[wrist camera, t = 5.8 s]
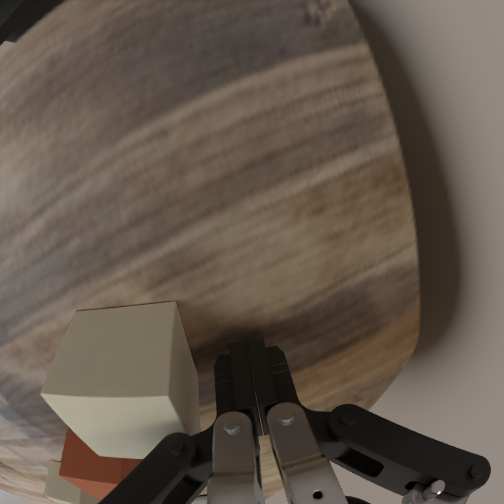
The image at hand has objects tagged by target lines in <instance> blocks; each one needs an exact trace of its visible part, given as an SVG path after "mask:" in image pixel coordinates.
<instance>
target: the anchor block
mask: <svg viewBox="0 0 504 504" xmlns="http://www.w3.org/2000/svg"><path fill="white" fill-rule="evenodd" d="M142 460H143V459H133V458H117V457H105V456H99V455H98V454H96V453H95V452H94V451H93V450H92V449H91V448H90V447H89V446H88V445H87V444H86V443H85V442H84V441H82V440H81V439H80V438H79V437H78V436H77V435H76V434H75V433H74V432H73V431H72V430H71V428H70V427H68V431H67V435H66V440H65V444H64V449H63V454H62V459H61V464H60V470H59V476H60V477H62V478H63V479H65V480H67V481H68V482H70V483H71V484H73V485H74V486H76V487H78V488H79V489H81V490H83V491H84V492H86V493H88V494H89V495H91V496H93V497H95V498H99V499H103V498H104V497H105V496H106V495H107V494H109V493H110V492H111V491H112V490H113V489H114V488H115V487H116V486H117V485H118V484H119V483H120V482H121V481H122V480H123V479H124V478H125V477H126V476H127V475H128V474H129V473H130V472H131V471H132V470H133V469H134V468H135V467H136V466H137V465H138V464H139V463H140V462H141V461H142Z"/></svg>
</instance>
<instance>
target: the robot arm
mask: <svg viewBox="0 0 504 504" xmlns="http://www.w3.org/2000/svg"><path fill="white" fill-rule="evenodd" d="M246 341H247V347H248V352H247V347H246V342H245V340H239V341H233V342H229V353H230V354H226V355H220V356H218V358H217V360H216V362H215V364H214V373H215V391H216V407H217V416H216V419H215V421H214V423H213V424H212V426H210V427H209V428H208V429H206V430H205V431H202V432H200V433H197V434H195V435H192V436H189V435H188V434H185V433H181V432H175V433H171V434H169V435H167V436H165V437H164V438H163V439H162V440H161V441H160V442H159V443H158V444H157V445H156V447H155V448H154V449H153V450H152V451H151V452H150V453H149V454H148V455H147V456H146V457H145V458H144V459H143V460H142V461H141V462H140V463H139V464H138V465H137V466H136V467H135V468H134V469H133V470H132V471H131V472H130V473H129V474H128V475H127V476H126V477H125V478H124V479H123V480H122V481H121V482H120V483H119V484H118V485H117V486H116V487H115V488H114V489H113V490H112V491H111V492H110V493H109V494H107V495H106V496H105V497H104V498H103V499H102V500H101V501H100V502H99V503H98V504H191V503H192V502H193V501H194V500H195V499H196V498H197V496H198V495H199V494H200V493H201V492H202V490H203V489H204V488H205V487H206V486H207V504H265V500H264V494H263V486H262V474H261V463H260V445H259V440H258V436H263V433H262V428H261V423H260V418H261V422H262V427H263V432H264V435H268V434H269V437H270V441H271V446H272V451H273V454H274V458H275V461H276V464H277V467H278V470H279V474H280V477H281V480H282V483H283V486H284V489H285V493H286V497H287V500H288V503H289V504H370V503H368V502H366V501H364V500H361V499H359V498H355V497H351V496H345V495H344V494H343V491H342V489H341V486H340V484H339V482H338V479H337V477H336V475H335V473H334V470H333V468H332V466H331V464H330V461H332V462H333V463H335V464H337V465H339V466H341V467H343V468H345V469H346V470H348V471H350V472H352V473H354V474H356V475H358V476H360V477H362V478H364V479H366V480H368V481H370V482H372V483H375V484H377V485H379V486H381V487H383V488H385V489H388V490H390V491H392V492H394V493H397V494H399V495H401V496H404V497H403V499H402V504H466V502H467V499H468V497H469V495H470V494H471V493H473V492H474V491H476V490H477V489H479V488H480V487H481V486H483V485H484V484H485V483H486V482H487V480H488V479H489V476H490V473H491V467H490V464H489V462H488V460H487V459H486V458H484V457H483V456H480V455H477V454H474V453H471V452H468V451H465V450H462V449H459V448H456V447H454V446H451V445H448V444H445V443H443V442H440V441H437V440H435V439H432V438H430V437H427V436H424V435H422V434H420V433H417V432H415V431H412V430H410V429H408V428H405V427H403V426H400V425H398V424H396V423H394V422H391V421H389V420H387V419H385V418H382V417H380V416H378V415H376V414H374V413H372V412H369V411H367V410H365V409H363V408H361V407H359V406H357V405H353V404H343V405H340V406H338V407H336V408H335V409H333V410H332V412H322V411H312V410H309V409H307V408H305V407H304V406H303V405H302V404H301V403H300V402H299V399H298V397H297V393H296V390H295V387H294V384H293V380H292V377H291V374H290V371H289V367H288V364H287V361H286V357H285V354H284V352H283V351H282V350H281V349H280V348H279V347H278V346H272V347H267V348H265V344H264V340H263V336H261V337H256V338H250V339H246ZM248 353H249V357H248ZM249 359H250V362H249ZM250 364H251V368H250ZM251 370H252V373H251ZM252 375H253V379H252ZM253 381H254V384H253ZM254 387H255V390H254ZM255 392H256V395H255ZM256 398H257V401H256ZM257 403H258V406H257ZM258 408H259V412H258ZM259 413H260V417H259ZM329 460H330V461H329Z"/></svg>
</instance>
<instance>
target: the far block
mask: <svg viewBox="0 0 504 504" xmlns="http://www.w3.org/2000/svg"><path fill="white" fill-rule="evenodd" d="M60 464H61V462H58V461H53V460H50V463H49V468H48V473H47V479H46V485H45V491H44V496H46V497H47V498H49V499H51V500H53V501H55V502H56V503H58V504H98V503H99V502H100V501H101V500H102V499H99V498H95V497H93V496H91V495H89V494H88V493H86V492H84V491H83V490H81V489H79V488H78V487H76V486H74V485H73V484H71V483H70V482H68V481H67V480H65V479H63V478H62V477H60V476H59V470H60Z"/></svg>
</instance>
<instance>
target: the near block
mask: <svg viewBox="0 0 504 504" xmlns="http://www.w3.org/2000/svg"><path fill="white" fill-rule="evenodd" d="M40 394H41V396H42V397H43V398H44V400H45V401H46V402H47V403H48V404H49V405H50V407H51V408H52V409H53V410H54V411H55V412H56V413H57V415H58V416H59V417H60V418H61V419H62V420H63V421H64V422H65V423H66V424H67V425H68V426H69V427H70V428H71V430H72V431H73V432H74V433H75V434H76V435H77V436H78V437H79V438H80V439H81V440H82V441H84V442H85V443H86V444H87V445H88V446H89V447H90V448H91V449H92V450H93V451H94V452H95V453H96V454H98V455H99V456H105V457H117V458H133V459H144V458H145V457H146V456H147V455H148V454H149V453H150V452H151V451H152V450H153V449H154V448H155V447H156V445H157V444H158V443H159V442H160V441H161V440H162V439H163V438H164V437H165V436H167V435H169V434H171V433H175V432H181V433H185V434H188V435H189V436H192V435H195V434H197V433H200V415H199V393H198V374H197V371H196V368H195V365H194V362H193V358H192V355H191V352H190V349H189V345H188V342H187V339H186V335H185V332H184V329H183V325H182V322H181V318H180V314H179V311H178V307H177V303H176V301H172V302H164V303H155V304H146V305H137V306H127V307H118V308H107V309H97V310H85V311H76V313H75V315H74V317H73V319H72V321H71V323H70V325H69V327H68V329H67V331H66V333H65V335H64V337H63V340H62V342H61V344H60V346H59V348H58V351H57V353H56V355H55V358H54V360H53V362H52V365H51V367H50V370H49V372H48V375H47V377H46V380H45V382H44V385H43V387H42V390H41V393H40Z"/></svg>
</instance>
